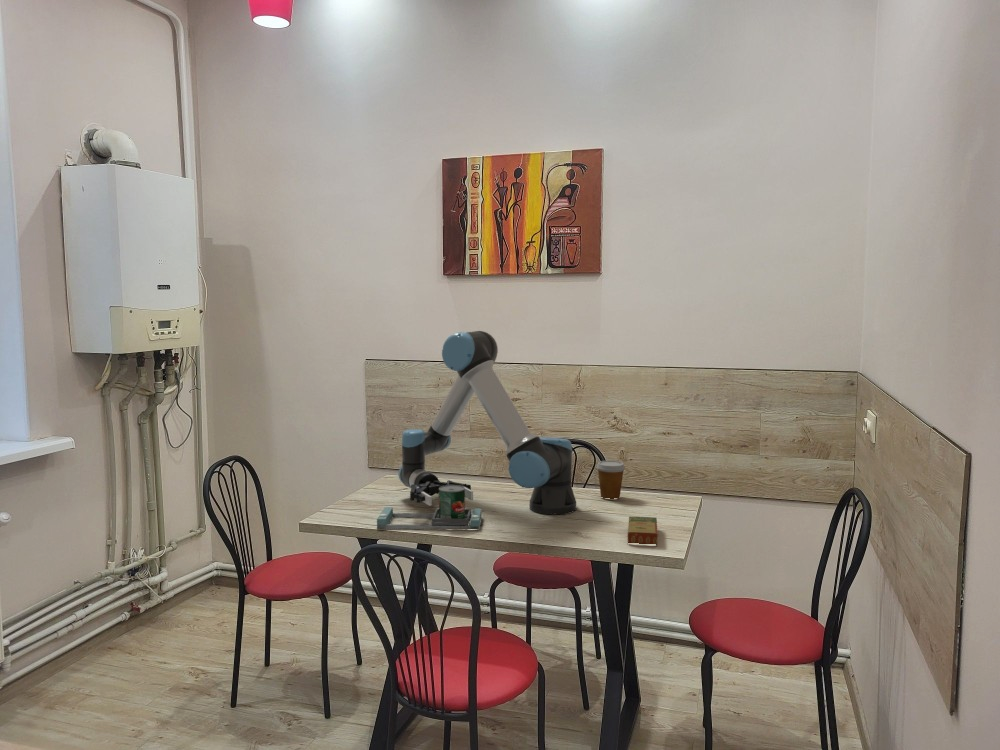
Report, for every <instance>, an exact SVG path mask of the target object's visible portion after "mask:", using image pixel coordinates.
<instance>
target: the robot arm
mask: <svg viewBox="0 0 1000 750" xmlns="http://www.w3.org/2000/svg"><path fill="white" fill-rule="evenodd" d="M498 351H499V349H498V343H497V341H496V339H495V337H493V336H492V335H491V334H490V333H488V332H487V331H484V330H483V331H482V330H476V331H475V330H474V331H460V332H456V333H452V334H451V335H450V336H448V337H447V338H446V340H445V341H444V343H443V345H442V349H441V357H442V361H443V363H444V365H445V366H446V367H447V368H448V369H450V370H452V371H455V372H457V374H458V375H457V377H456V378H455V381H454V383H453V384H452V386H451V387H450V390H449V392H448V394H447V395H446V396H445V399H444V401H443V402H442V405H441V406H440V408H439V410H438V411H437V414H436V415H435V417H434V419H433V421H432V423H431V425H430V427H429V428H428V430H427V431H426V432H425V431H424V430H422V429H406V430H404V431H403V432H402V438H401V456H402V457H401V458H402V459H401V461H402V462H401V467H400V468H399V470H398V478H399V481H400V482H401V483H402V484H403V485H404V486H405V487H407V488H409V489H410V492H409V501H410V502H411V501H415V500H416V503H417V504H420V503H421V502H422V503H424V504H426V505H427V506H429V507H430V506H432V505H433V504H432V502H433V501H432V499H433V498H432V497H433V496H435V494H438V495H439V487H441V486H445V485H459V486H463V487H465V499H468V500H470V501H474V491H473V490H472V487H471V486H472V485H471V484H468V483H463V482H462V483H461V482H458V481H457V482H456V481H452V480H450V479H449V480H446V481H445V482H444V481H441V480H440V479H439V478H438V477H437V476H436V475H435V474H434V473H431V472H430V471H428V470H427V469H425V468H426V464H425V463H426V456H428V455H431V454H434V453H438V452H441V451H443V450H445V449H447V448H448V447H449V446H450V444H451V439H452V438H451V437H452V436H451V434H452V433H453V430H455V427H456V426H457V424H458V422H459V420H460V418H461V417H462V415H463V413H464V412H465V409H466V408H467V406H468V404H469V402H470V401H471V399H472V397H473V396H474V394H475V395H476V397H477V399H478V400H479V403H481V404H480V405H482V407H483V409H484V410H485V412H486V414H487V416H488V417H489V419H490V421H491V422H492V424H493V426H494V427H495V429H496V431H497V432H498V434H499V436H500V438H501V440H502V442H503V443H504V445H505V446H506V451H505V456H506V458H507V460H508V461H509V462H508V467H507V470H508V473H509V475H510V479H512V481H513V482H514V483H516V485H518V486H519V487H521V488H525V489H533V490H532V493H531V496H530V499H529V509H530V510H531V511H532V512H534V513H537V514H542V515H565V513H567V514H570V512H571V513H573V512H572V511H574V510H575V509H576V510H577V499H576V497H575V494H574V489H573V487H572V462H573V461H572V458H573V456H572V455H573V448H572V441H570V440H569V439H566V438H561V437H545V436H543V437H542V436H541V437H539V435H537V434H533V433H532V432H531V431H530V430H529V427H528V426H527V424H526V423H525V421H524V418H522V416H521V414H520V413H519V410H518V409H517V408H516V406H515V403H513V400H512V399H511V397H510V396H509V393H507V390H506V389H505V387H504V386H503V383H502V382H501V381H500V379H499V377H498V376H497V374H496V372H495V370H494V368H493V367H494V365H495V362H496V360H497V358H498V353H499V352H498ZM576 510H575V511H576ZM575 511H574V512H575Z"/></svg>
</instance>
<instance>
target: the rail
mask: <svg viewBox="0 0 1000 750" xmlns="http://www.w3.org/2000/svg"><path fill="white" fill-rule="evenodd" d="M434 513H435V512H433V513H428V512H427V513H423V512H422V513H419V512H417V513H416V512H413V513H412V512H410V513H409V512H393V514H392V518H395V517H413V519H414V517H415V519H432V517H433V515H434ZM467 515H468V514H465V519H467ZM471 515H472V513H471ZM437 518H439V514H438V515H437ZM470 518H471V516H470ZM377 526H378V525H377V524H376V529H377V530H418V529H470V528H471V526H470V524H468V525H431V524H394V523H393V524H391V523H389V524H386V525H385V526H386V527H385V526H383V525H381V526H380V525H379V526H378V527H377ZM472 528H473V529H474V528H475V527H473V526H472ZM477 529H479V530H480V527H477Z"/></svg>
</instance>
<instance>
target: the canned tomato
mask: <svg viewBox="0 0 1000 750" xmlns="http://www.w3.org/2000/svg"><path fill="white" fill-rule="evenodd" d="M438 509H439V518H450V519H466V518H465V509H466V497H465V487H463V486H459V485H445V486H441V487H439V493H438Z"/></svg>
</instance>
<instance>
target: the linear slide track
mask: <svg viewBox="0 0 1000 750" xmlns="http://www.w3.org/2000/svg"><path fill="white" fill-rule="evenodd" d="M393 513H394V507H393V506H392V507H391V506H385V507H384V508H383V509H382V511H381V512H380V514H379V516H377V518H376V528H377V527H378V526H379V525H380V526H381V525H383V526H385V525H386V524H390V522H391V521H390V520H392V519H393V517H392V514H393ZM471 514H472V515H471V519H470V520H469V525H470V526H471V528H470V529H473V528H472V526H473V527H475V528H474V529H477V527H479V526H480V527H481V522H480V521H482V508H480V507H479V508H478V507H477V508H476V507H474V508H473V509H472V510H471ZM377 525H378V526H377ZM385 527H386V526H385ZM480 527H479V528H480Z"/></svg>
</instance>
